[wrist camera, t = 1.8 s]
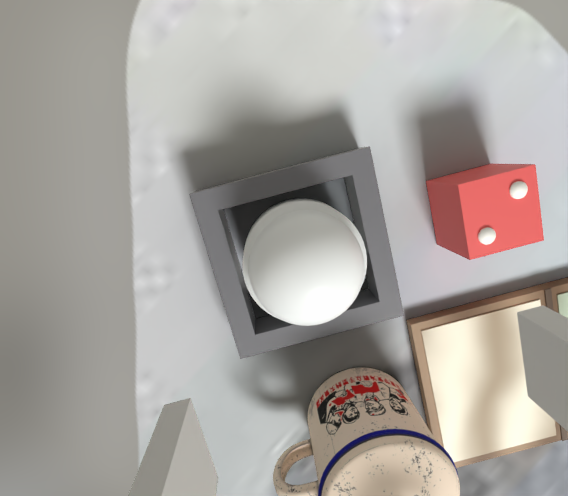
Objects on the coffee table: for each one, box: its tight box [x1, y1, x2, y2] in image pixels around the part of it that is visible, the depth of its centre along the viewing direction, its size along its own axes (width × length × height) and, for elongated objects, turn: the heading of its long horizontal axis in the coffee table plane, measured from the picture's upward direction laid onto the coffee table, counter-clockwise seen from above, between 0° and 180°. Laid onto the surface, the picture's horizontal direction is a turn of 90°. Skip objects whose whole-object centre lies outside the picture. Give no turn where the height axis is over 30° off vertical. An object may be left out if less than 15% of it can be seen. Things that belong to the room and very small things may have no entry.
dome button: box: [242, 198, 367, 326], centre depth 25 cm, size 8×8×7 cm
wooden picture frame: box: [406, 277, 568, 468], centre depth 33 cm, size 22×14×1 cm, turn 104°
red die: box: [426, 164, 544, 260], centre depth 28 cm, size 5×5×5 cm
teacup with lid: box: [273, 368, 460, 496], centre depth 28 cm, size 12×9×12 cm
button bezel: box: [190, 147, 404, 359], centre depth 29 cm, size 12×12×3 cm
